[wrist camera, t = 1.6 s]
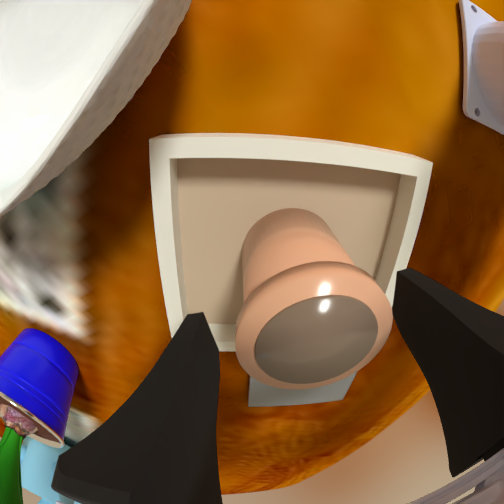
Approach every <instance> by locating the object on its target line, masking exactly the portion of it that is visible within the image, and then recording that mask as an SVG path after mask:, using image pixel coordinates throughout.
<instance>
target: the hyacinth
mask: <svg viewBox="0 0 504 504" xmlns="http://www.w3.org/2000/svg"><path fill="white" fill-rule="evenodd" d="M78 373H79V368H78V365H77V363H76V361H75V359H74V358H73V356H72V355H71V354H70V353H69V352H68V350H67V349H66V348H65V347H63V346H62V345H61V344H60V343H59V342H58V341H56V340H55V339H54V338H52V337H51V336H49V335H47V334H45V333H44V332H42V331H39V330H36V329H32V328H27V329H24V330H23V331H22V332H21V333H20V334H19V336H18V337H17V338H16V339H15V340H14V341H13V343H12V344H11V345H10V346H9V347H8V348H7V349H6V351H5V352H4V353H3V354H2V356H1V357H0V417H2V418H3V419H4V422H5V427H6V429H5V432H4V435H3V437H2V439H1V441H0V504H23V498H22V483H21V463H20V455H21V445H22V441H23V440H24V439H25V437H26V436H29V437H31V438H32V439H34V440H36V441H38V442H41V443H43V444H45V445H48V446H51V447H55V448H63V447H64V444H65V443H64V436H65V430H66V425H67V419H68V415H69V410H70V405H71V401H72V397H73V392H74V388H75V384H76V381H77V377H78Z"/></svg>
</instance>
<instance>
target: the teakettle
mask: <svg viewBox="0 0 504 504" xmlns="http://www.w3.org/2000/svg"><path fill="white" fill-rule="evenodd" d="M70 448H71V447H69V446H67V445H66V444H64V447H63V448H55V447H51V446H48V445H45V444H43V443H41V442H38V441H36V440H34V439H32V438H31V437H29V436H26V437H25V439H24V441H23V444H22V445H21V455H20V463H21V483H22V487H23V488H25V489H27V490H28V491H31V492H32V493H34V494H36V495H38V496H40V497H42V499H41V500H40V501H39V502H38V504H56V501H60V502H62V503H64V504H81V503H78V502H76V501H74V500H72V499H69V498H67V497H65V496H63V495H61V494H59V493H57V492H55V491H54V490H53V489H52V488H51V484H52V480H53V475H54V471H55V467H56V464H57V460H58V456H59V455H60V454H62V453H64V452H65V451H67V450H68V449H70Z"/></svg>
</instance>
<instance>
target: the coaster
mask: <svg viewBox="0 0 504 504" xmlns="http://www.w3.org/2000/svg"><path fill="white" fill-rule="evenodd" d="M356 373H357V372H355V373H353V374H352V375H350V376H348V377H346V378H344V379H342V380H339V381H337V382H334V383H331V384H328V385H325V386H321V387H316V388H310V389H282V388H277V387H272V386H269V385H266V384H263V383H261V382H259V381H257V380H256V379H254V378H253V377H251V376H250V378H249V392H248V407H263V406H285V405H299V404H311V403H320V402H329V401H337V400H343V398H344V396H345V394H346V392H347V390H348V389H349V387H350V385H351V383H352V381H353V379H354V377H355V375H356Z"/></svg>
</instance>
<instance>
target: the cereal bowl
mask: <svg viewBox="0 0 504 504" xmlns="http://www.w3.org/2000/svg"><path fill="white" fill-rule="evenodd" d="M191 1H192V0H0V217H1V216H3V215H4V214H5V213H7V212H10V211H12V210H13V209H15V208H16V206H17V205H18V204H20V203H21V202H23V201H25V200H27V199H29V198H30V197H31V196H32V195H33V194H34V193H35V192H36V191H38V190H40V189H42V188H43V187H45V186H46V185H47V184H48V183H49V181H50V180H52V179H53V178H55V177H57V176H59V175H60V174H61V173H63V171H64V170H65V169H66V167H67V166H68V165H70V164H72V163H73V161H75V160H77V159H78V158H79V156H80V155H81V154H82V152H84V150H86V149H87V148H88V147H89V146H91V144H92V143H93V142H94V140H95V139H96V138H98V137H99V135H100V134H101V133H102V132H103V131H104V130H105V129H106V128H107V126H109V125H110V124H111V123H112V122H113V120H114V119H115V117H116V116H117V114H118V113H119V112H120V111H121V110H122V109H123V108H124V107H125V105H126V104H127V103H128V102H129V101H130V100H131V99H132V97H133V95H134V94H135V92H136V90H137V89H138V88H139V87H140V86H141V85H142V84H143V82H144V80H145V78H146V77H147V76H148V75H149V74H150V73H151V70H152V68H153V67H154V66H155V64H156V63H157V62H158V61H159V59H160V57H161V55H162V53H163V51H164V50H165V49H166V47H167V46H168V45H169V42H170V40H171V39H172V37H173V36H174V35H175V34H176V32H177V29H178V26H179V25H180V24H181V22H182V21H183V20H184V17H185V14H186V12H187V11H188V10H189V6H190V4H191Z"/></svg>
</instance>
